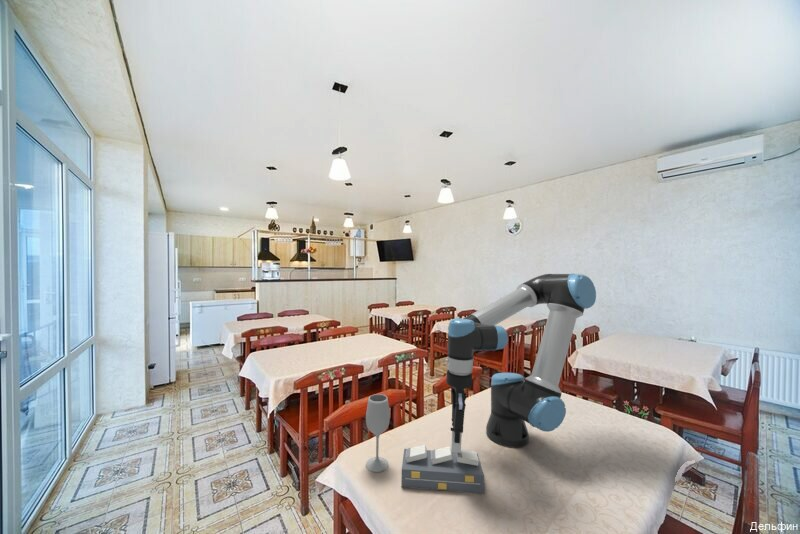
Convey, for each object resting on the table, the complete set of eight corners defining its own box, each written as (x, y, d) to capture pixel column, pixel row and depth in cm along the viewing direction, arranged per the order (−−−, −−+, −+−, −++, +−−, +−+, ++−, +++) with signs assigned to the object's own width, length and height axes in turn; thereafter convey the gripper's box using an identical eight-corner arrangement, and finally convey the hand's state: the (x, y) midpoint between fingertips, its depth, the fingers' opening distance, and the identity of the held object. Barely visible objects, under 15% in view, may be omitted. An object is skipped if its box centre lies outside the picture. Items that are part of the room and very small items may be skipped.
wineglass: (365, 457, 97) (366, 393, 98) (388, 456, 98) (389, 392, 98) (364, 473, 90) (365, 403, 90) (389, 472, 90) (390, 402, 91)
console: (477, 469, 92) (477, 453, 92) (484, 494, 82) (484, 475, 82) (404, 464, 94) (404, 448, 94) (401, 487, 84) (401, 469, 84)
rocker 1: (426, 448, 91) (425, 444, 91) (426, 457, 86) (425, 452, 86) (407, 453, 91) (406, 448, 91) (407, 462, 87) (405, 457, 87)
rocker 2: (451, 450, 90) (449, 445, 90) (452, 459, 86) (450, 454, 86) (432, 455, 91) (430, 450, 91) (432, 464, 86) (431, 459, 86)
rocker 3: (475, 456, 89) (476, 451, 89) (478, 465, 85) (478, 460, 85) (455, 452, 90) (456, 447, 90) (457, 461, 86) (457, 456, 86)
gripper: (445, 364, 95) (442, 438, 95) (448, 377, 82) (444, 463, 82) (469, 365, 95) (465, 440, 94) (475, 379, 82) (472, 466, 81)
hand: (455, 451), depth 88 cm, fingers closed
